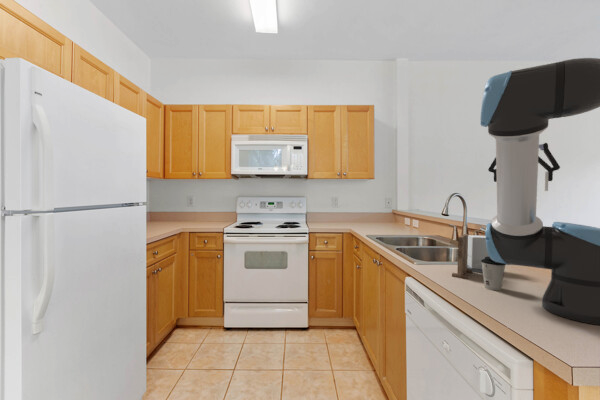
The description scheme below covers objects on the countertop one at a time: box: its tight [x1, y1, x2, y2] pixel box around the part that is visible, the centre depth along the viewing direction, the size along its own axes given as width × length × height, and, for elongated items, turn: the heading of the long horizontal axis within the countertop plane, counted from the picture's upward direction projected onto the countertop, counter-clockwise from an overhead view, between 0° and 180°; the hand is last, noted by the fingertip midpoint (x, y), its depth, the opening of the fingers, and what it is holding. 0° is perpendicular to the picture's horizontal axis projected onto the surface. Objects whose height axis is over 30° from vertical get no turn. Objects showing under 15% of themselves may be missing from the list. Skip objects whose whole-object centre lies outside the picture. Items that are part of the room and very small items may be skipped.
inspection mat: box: [467, 265, 483, 274], centre depth 119 cm, size 10×10×1 cm
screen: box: [451, 233, 474, 280], centre depth 112 cm, size 12×5×15 cm, turn 141°
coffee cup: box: [481, 257, 507, 292], centre depth 96 cm, size 7×7×10 cm
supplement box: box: [467, 234, 489, 269], centre depth 119 cm, size 7×7×13 cm
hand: (521, 190), depth 104 cm, fingers open, 13 cm apart
